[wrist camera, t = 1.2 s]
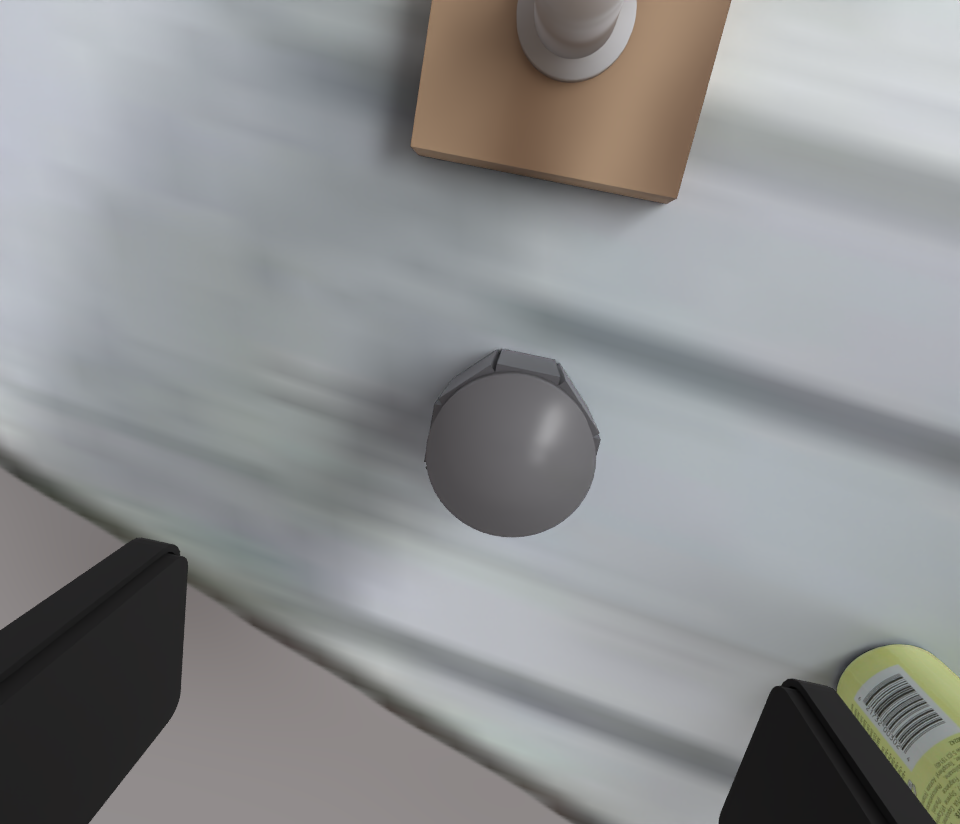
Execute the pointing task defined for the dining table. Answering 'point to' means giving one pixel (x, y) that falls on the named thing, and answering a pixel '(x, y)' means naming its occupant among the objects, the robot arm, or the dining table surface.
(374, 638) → the dining table surface
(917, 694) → the tube
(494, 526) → the cap
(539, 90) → the stud block
